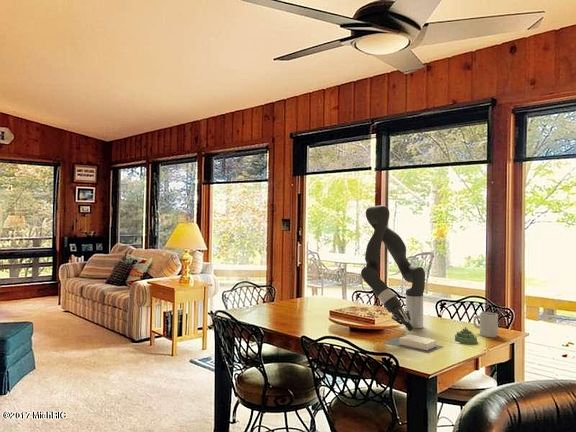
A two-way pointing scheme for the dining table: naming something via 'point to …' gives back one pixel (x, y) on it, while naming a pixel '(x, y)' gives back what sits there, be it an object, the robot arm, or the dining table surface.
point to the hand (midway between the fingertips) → (411, 330)
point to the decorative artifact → (465, 337)
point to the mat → (396, 343)
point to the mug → (487, 324)
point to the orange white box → (418, 342)
